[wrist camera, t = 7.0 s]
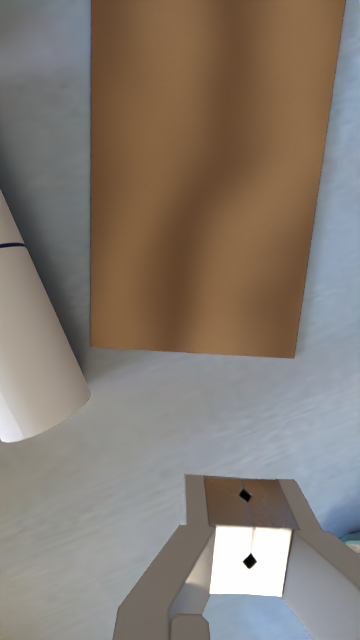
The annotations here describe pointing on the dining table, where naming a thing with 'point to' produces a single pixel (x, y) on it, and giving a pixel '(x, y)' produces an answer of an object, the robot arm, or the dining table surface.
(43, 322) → the cylindrical container
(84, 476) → the dining table surface
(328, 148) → the dining table surface
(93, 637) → the dining table surface
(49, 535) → the dining table surface
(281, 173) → the brown flat board
